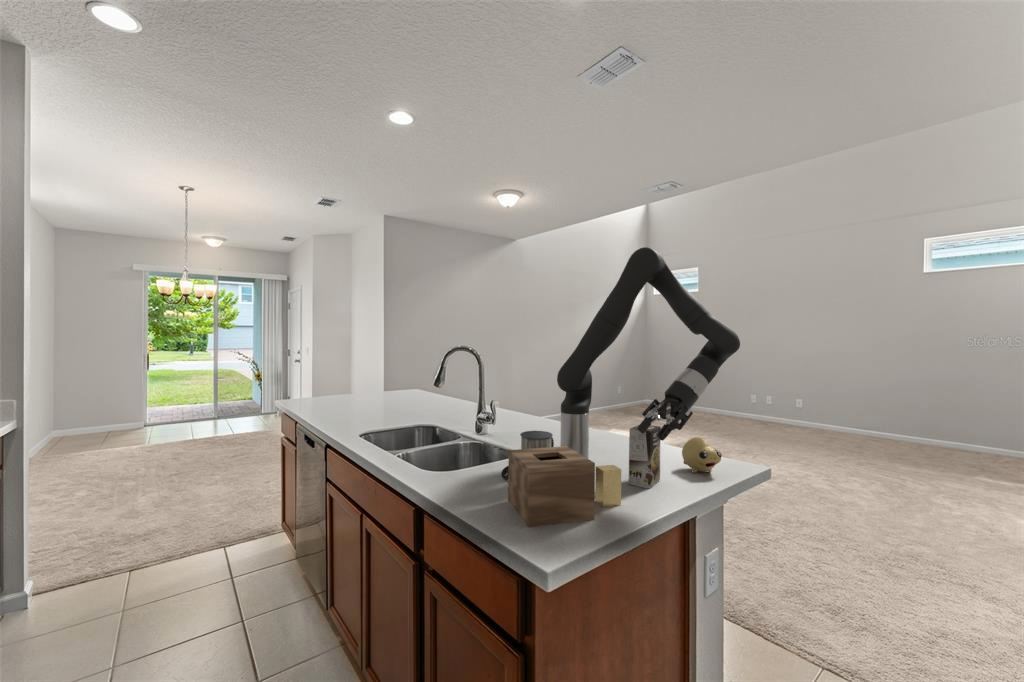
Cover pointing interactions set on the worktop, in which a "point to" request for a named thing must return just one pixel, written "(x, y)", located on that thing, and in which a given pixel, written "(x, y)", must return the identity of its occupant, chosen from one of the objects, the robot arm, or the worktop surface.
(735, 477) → the worktop surface
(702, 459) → the yellow creature figurine
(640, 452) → the coffee box
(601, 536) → the worktop surface
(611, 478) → the yellow rectangular block
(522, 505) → the coin box
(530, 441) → the milk frother
